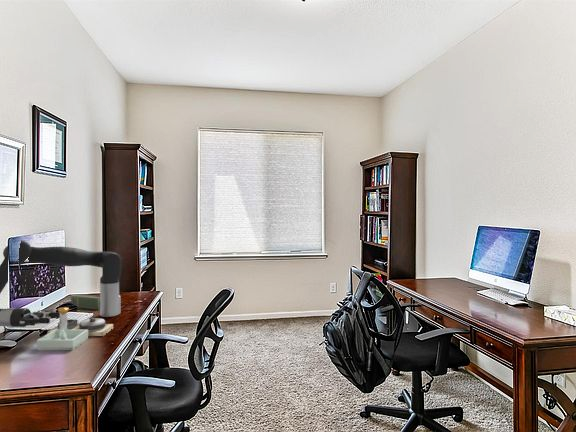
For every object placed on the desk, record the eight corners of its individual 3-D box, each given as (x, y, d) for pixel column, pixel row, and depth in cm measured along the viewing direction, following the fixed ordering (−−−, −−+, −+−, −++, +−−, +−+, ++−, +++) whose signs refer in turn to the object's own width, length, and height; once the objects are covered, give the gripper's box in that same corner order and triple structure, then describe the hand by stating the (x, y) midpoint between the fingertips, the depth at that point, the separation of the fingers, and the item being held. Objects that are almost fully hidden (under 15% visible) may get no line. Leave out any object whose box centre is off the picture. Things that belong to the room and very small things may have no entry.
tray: (55, 338, 176) (55, 329, 176) (88, 338, 176) (88, 329, 176) (36, 350, 162) (36, 340, 162) (72, 350, 162) (72, 340, 162)
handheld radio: (74, 305, 233) (111, 309, 226) (70, 307, 230) (106, 311, 223) (74, 294, 233) (110, 297, 226) (69, 295, 230) (106, 299, 223)
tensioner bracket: (47, 336, 178) (47, 322, 178) (61, 328, 190) (61, 315, 190) (102, 336, 180) (102, 322, 179) (113, 328, 192) (113, 315, 191)
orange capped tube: (65, 339, 172) (65, 306, 171) (70, 341, 170) (70, 308, 169) (56, 342, 168) (55, 308, 168) (61, 344, 166) (61, 310, 166)
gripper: (3, 312, 160) (45, 313, 161) (24, 304, 175) (63, 304, 175) (3, 331, 161) (45, 332, 161) (24, 321, 175) (63, 321, 176)
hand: (54, 317), depth 168 cm, fingers open, 8 cm apart
